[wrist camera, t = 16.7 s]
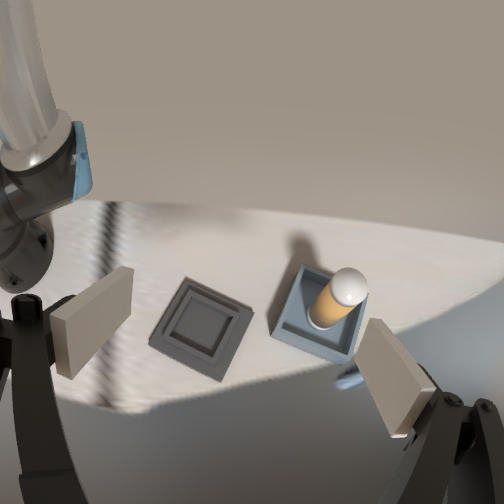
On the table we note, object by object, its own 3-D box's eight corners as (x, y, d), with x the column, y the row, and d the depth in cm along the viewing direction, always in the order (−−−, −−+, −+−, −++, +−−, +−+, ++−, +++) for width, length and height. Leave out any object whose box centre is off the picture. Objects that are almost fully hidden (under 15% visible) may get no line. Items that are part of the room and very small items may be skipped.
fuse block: (149, 345, 42) (145, 341, 40) (186, 282, 48) (185, 275, 46) (220, 382, 40) (221, 380, 38) (253, 314, 47) (255, 309, 44)
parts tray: (270, 336, 45) (274, 330, 42) (297, 273, 52) (302, 263, 49) (340, 365, 44) (350, 361, 41) (359, 300, 50) (368, 292, 47)
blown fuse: (301, 324, 46) (328, 293, 36) (311, 297, 48) (338, 261, 38) (329, 336, 45) (363, 308, 35) (338, 309, 48) (371, 276, 38)
